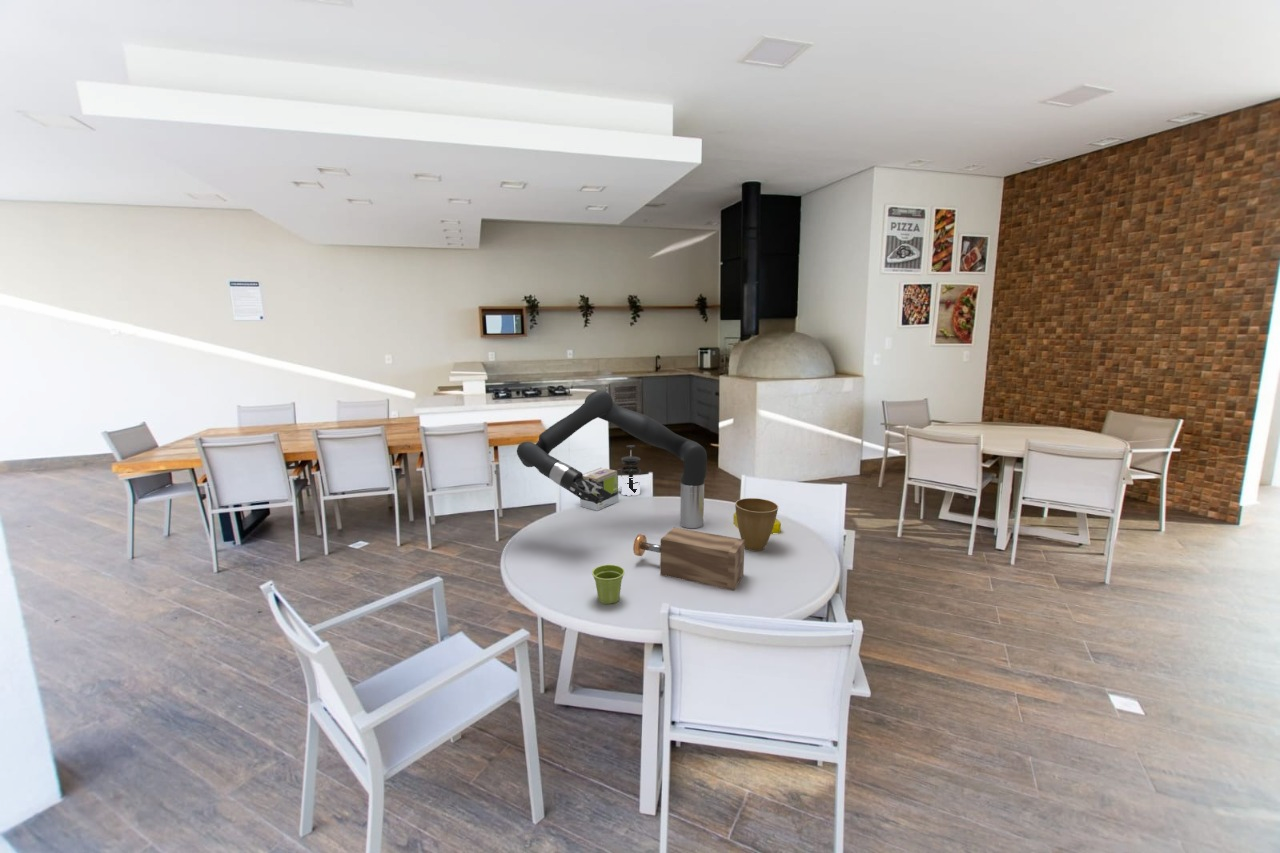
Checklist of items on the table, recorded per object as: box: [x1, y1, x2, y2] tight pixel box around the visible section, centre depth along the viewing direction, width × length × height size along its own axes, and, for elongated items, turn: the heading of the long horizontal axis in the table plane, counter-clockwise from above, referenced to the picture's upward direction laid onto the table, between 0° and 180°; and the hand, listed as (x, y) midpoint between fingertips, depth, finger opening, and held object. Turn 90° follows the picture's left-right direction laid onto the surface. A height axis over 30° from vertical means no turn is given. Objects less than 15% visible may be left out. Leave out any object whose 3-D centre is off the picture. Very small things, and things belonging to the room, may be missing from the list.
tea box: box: [579, 467, 619, 512], centre depth 238 cm, size 15×10×15 cm, turn 145°
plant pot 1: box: [591, 564, 625, 605], centre depth 157 cm, size 9×9×9 cm
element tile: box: [732, 512, 782, 535], centre depth 212 cm, size 15×15×5 cm
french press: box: [616, 444, 641, 493], centre depth 252 cm, size 12×9×23 cm
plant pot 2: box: [734, 497, 779, 552], centre depth 193 cm, size 15×15×16 cm
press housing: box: [659, 527, 745, 591], centre depth 171 cm, size 11×24×12 cm, turn 65°
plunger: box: [632, 534, 661, 557], centre depth 177 cm, size 7×21×7 cm, turn 65°
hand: (604, 498), depth 182 cm, fingers open, 8 cm apart
